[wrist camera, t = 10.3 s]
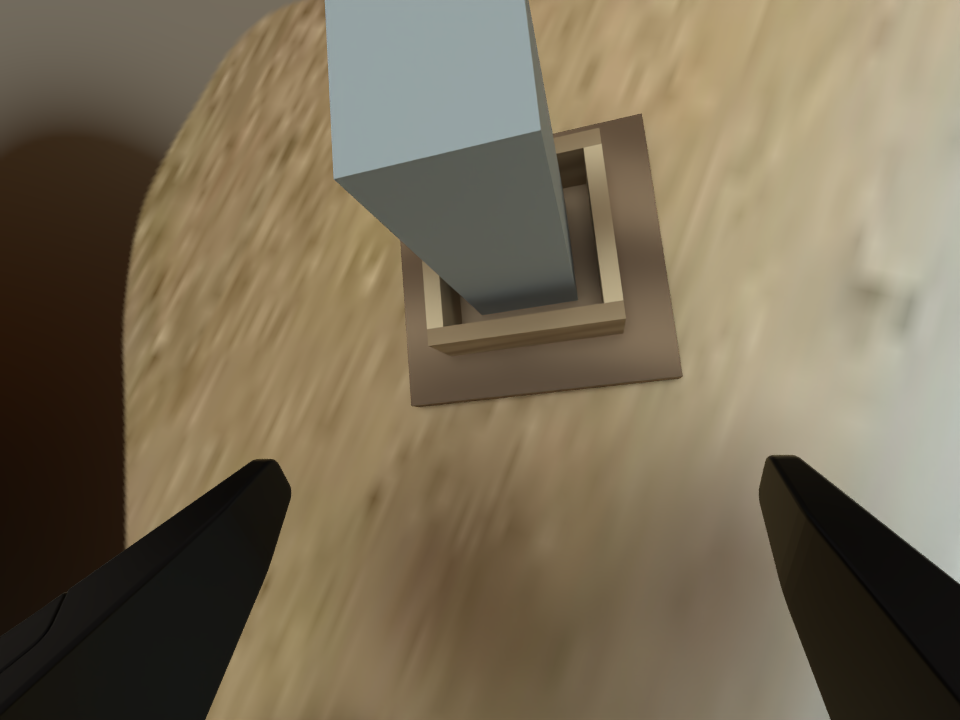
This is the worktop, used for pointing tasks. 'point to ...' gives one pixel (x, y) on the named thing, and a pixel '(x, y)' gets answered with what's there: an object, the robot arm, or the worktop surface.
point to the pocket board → (570, 325)
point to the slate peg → (453, 142)
